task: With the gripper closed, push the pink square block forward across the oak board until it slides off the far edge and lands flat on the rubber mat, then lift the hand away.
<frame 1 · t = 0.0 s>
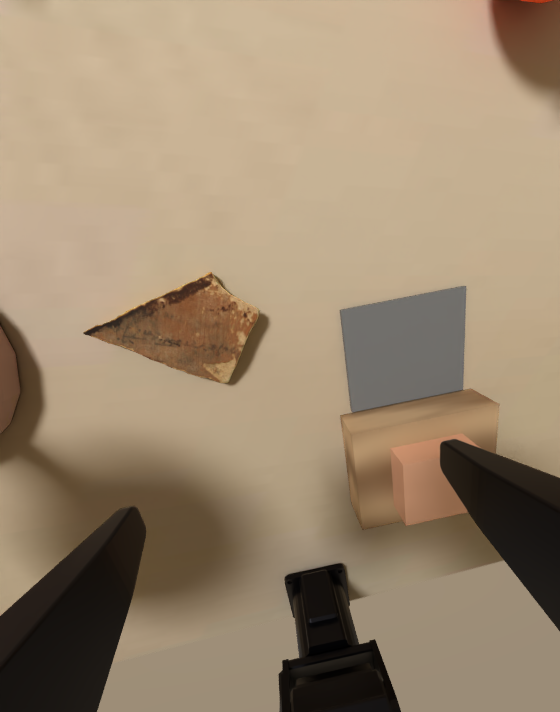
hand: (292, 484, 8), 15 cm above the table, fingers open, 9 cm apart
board: (408, 448, 26), on the table
mat: (404, 351, 23), on the table
pink square block: (426, 470, 23), point 3 cm above the table, touching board
shard: (190, 340, 22), on the table
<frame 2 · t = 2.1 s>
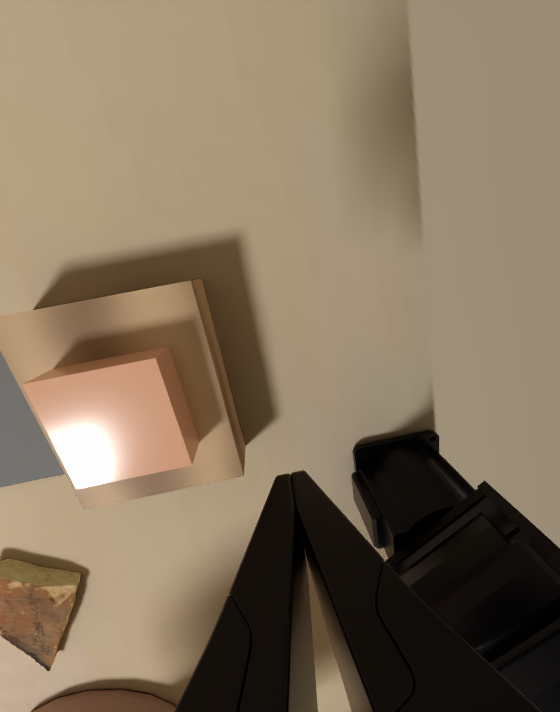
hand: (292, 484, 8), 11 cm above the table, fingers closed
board: (150, 386, 18), on the table
mat: (0, 415, 18), on the table
pink square block: (131, 408, 15), point 3 cm above the table, touching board
shard: (55, 593, 24), on the table
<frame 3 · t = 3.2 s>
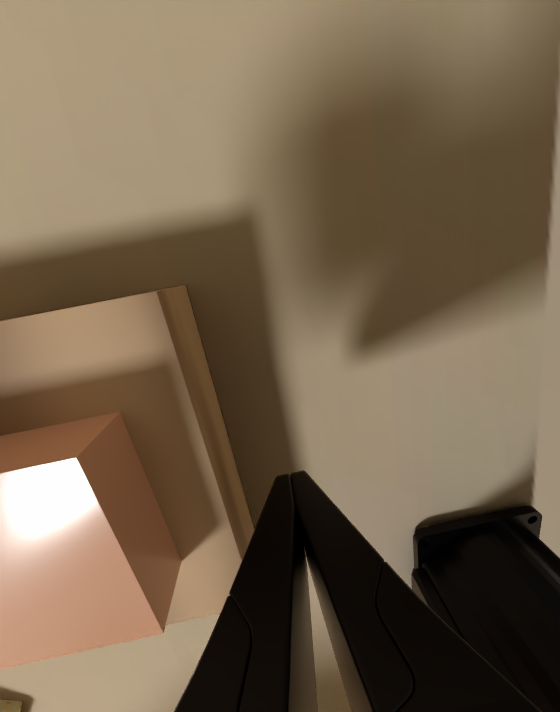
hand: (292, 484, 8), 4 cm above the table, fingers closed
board: (107, 453, 12), on the table
pink square block: (59, 514, 9), point 3 cm above the table, touching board
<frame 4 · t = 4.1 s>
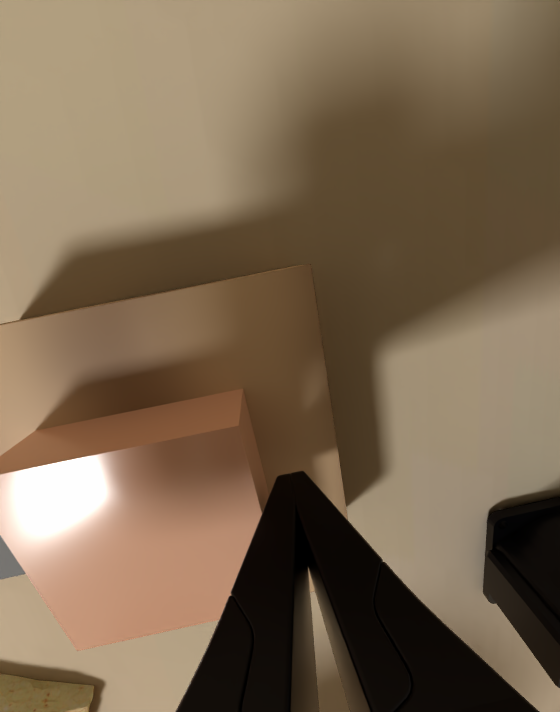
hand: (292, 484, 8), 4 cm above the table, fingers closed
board: (203, 434, 12), on the table
pink square block: (171, 491, 9), point 3 cm above the table, touching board, gripper
shard: (58, 704, 17), on the table
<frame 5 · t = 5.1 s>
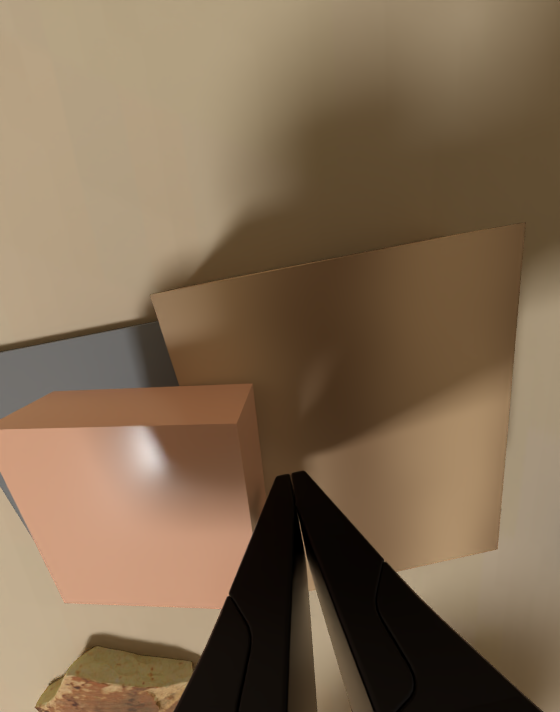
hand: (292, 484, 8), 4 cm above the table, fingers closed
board: (336, 406, 12), on the table
mat: (110, 453, 12), on the table
pink square block: (170, 472, 9), point 3 cm above the table, tilted 9°, touching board
shard: (149, 681, 17), on the table
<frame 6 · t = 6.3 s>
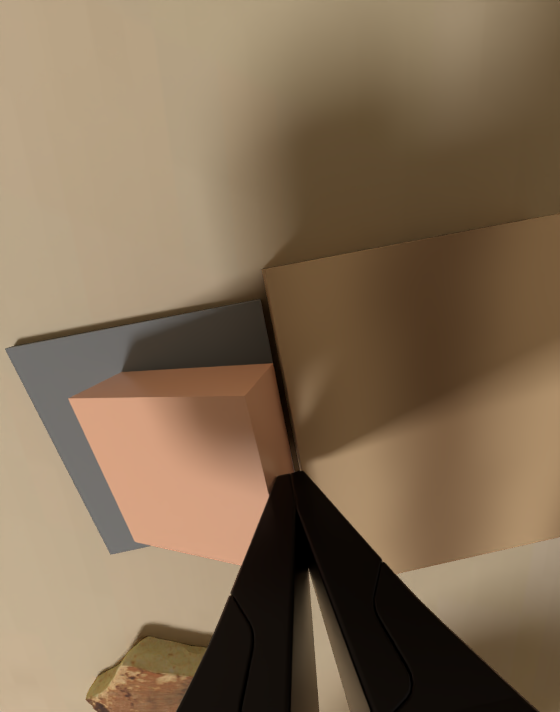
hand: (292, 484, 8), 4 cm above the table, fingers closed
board: (404, 392, 12), on the table
mat: (178, 438, 12), on the table
pink square block: (211, 443, 10), point 1 cm above the table, tilted 23°, touching gripper, mat
shard: (193, 673, 17), on the table
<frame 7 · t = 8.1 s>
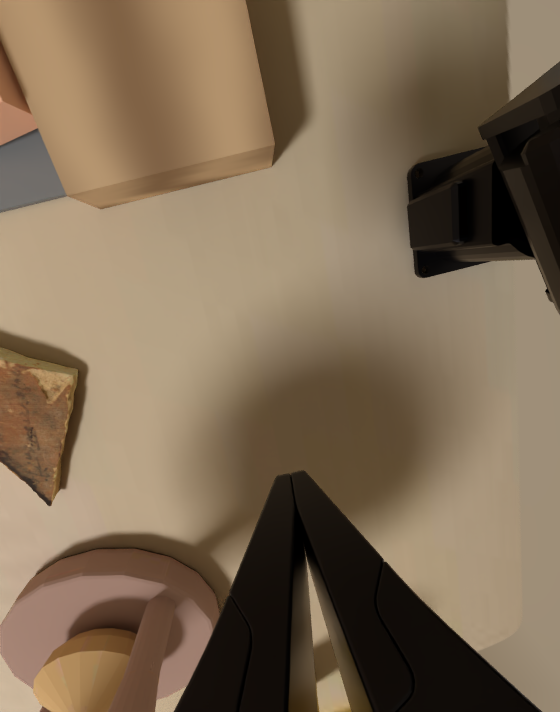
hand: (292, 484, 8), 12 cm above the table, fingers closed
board: (146, 55, 14), on the table
shard: (51, 408, 20), on the table
hourglass: (125, 614, 26), on the table
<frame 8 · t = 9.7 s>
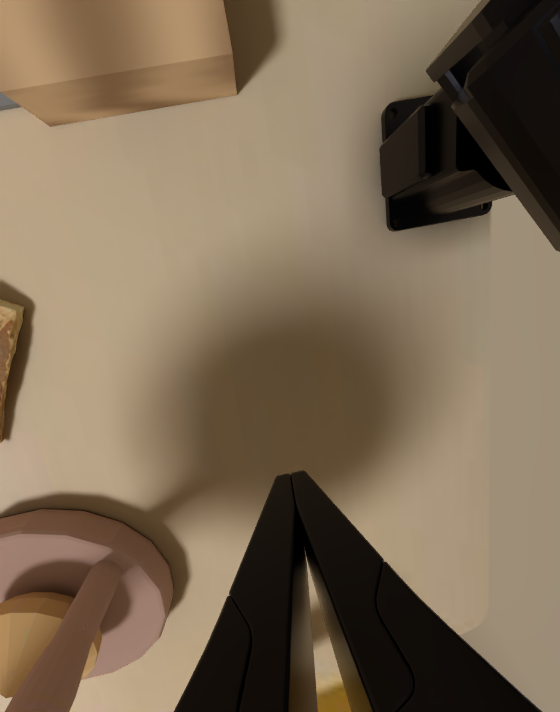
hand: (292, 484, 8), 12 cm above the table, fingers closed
hourglass: (72, 583, 24), on the table
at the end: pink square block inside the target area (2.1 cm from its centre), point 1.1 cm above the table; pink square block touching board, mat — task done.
